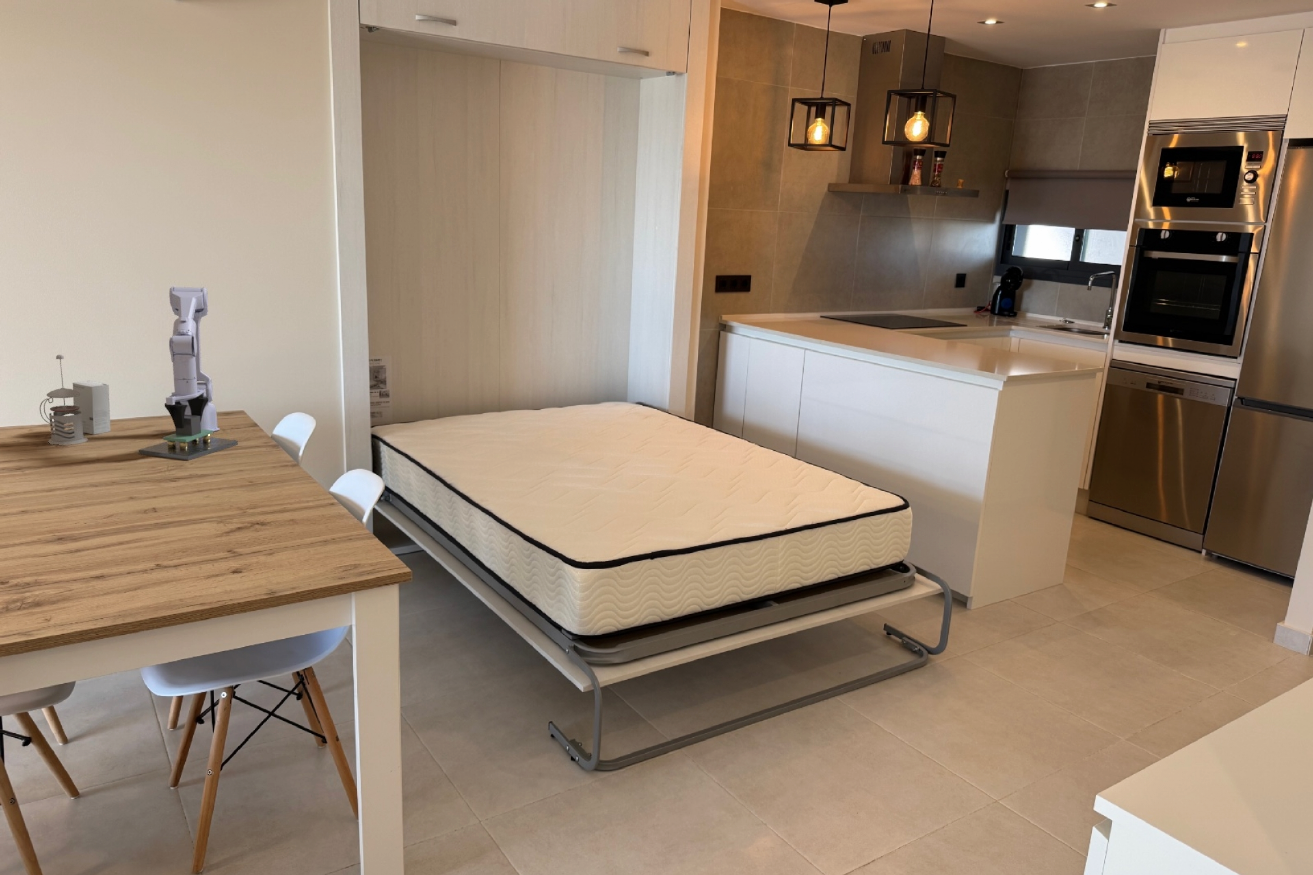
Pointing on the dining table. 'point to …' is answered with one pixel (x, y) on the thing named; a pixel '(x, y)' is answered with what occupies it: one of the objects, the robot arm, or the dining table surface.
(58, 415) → the french press
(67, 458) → the dining table surface
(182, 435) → the board
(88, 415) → the skincare box
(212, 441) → the plate
